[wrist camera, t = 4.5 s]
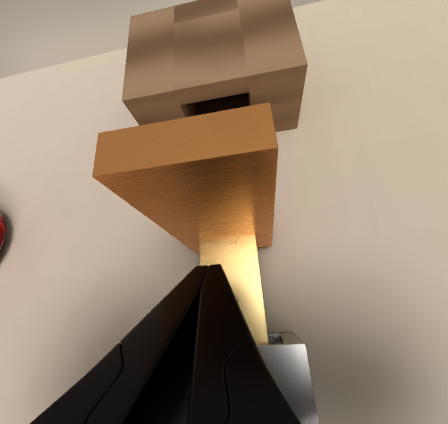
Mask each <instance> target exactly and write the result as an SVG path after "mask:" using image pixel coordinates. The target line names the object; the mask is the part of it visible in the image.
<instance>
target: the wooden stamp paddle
mask: <svg viewBox="0 0 448 424" xmlns="http://www.w3.org/2000/svg"><path fill="white" fill-rule="evenodd" d="M277 157H278V144H277V138H276V133H275V127H274V122H273V116H272V111H271V105H270V102H268V103H263V104H257V105H252V106H246V107H241V108H235V109H230V110H224V111H219V112H213V113H208V114H202V115H196V116H191V117H185V118H180V119H174V120H169V121H163V122H158V123H152V124H147V125H141V126H135V127H130V128H124V129H119V130H113V131H108V132H102V133H98V140H97V147H96V154H95V161H94V168H93V175H92V177H93V178H95V179H96V180H97V181H99V182H100V183H102V184H103V185H104V186H106V187H107V188H108V189H110V190H111V191H112V192H114V193H115V194H117V195H118V196H119V197H121V198H122V199H123V200H125V201H126V202H127V203H129V204H130V205H132V206H133V207H134V208H136V209H137V210H138V211H140V212H141V213H142V214H144V215H145V216H147V217H148V218H149V219H151V220H152V221H153V222H155V223H156V224H157V225H159V226H160V227H162V228H163V229H164V230H166V231H167V232H168V233H170V234H171V235H172V236H174V237H175V238H177V239H178V240H179V241H181V242H182V243H183V244H185V245H186V246H187V247H189V248H190V249H192V250H193V251H194V252H196V253H197V254H200V266H203V265H207V266H209V265H213V264H221V265H222V267H223V270H224V272H225V274H226V277H227V279H228V281H229V283H230V286H231V288H232V290H233V292H234V295H235V297H236V299H237V302H238V304H239V306H240V308H241V311H242V313H243V315H244V318H245V320H246V322H247V324H248V327H249V329H250V331H251V334H252V336H253V338H254V340H255V342H256V345H262V344H269V339H268V331H267V322H266V314H265V306H264V298H263V290H262V282H261V274H260V266H259V257H258V249H257V248H258V247H267V246H272V233H273V218H274V203H275V187H276V172H277Z"/></svg>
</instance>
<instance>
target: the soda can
mask: <svg viewBox="0 0 448 424" xmlns="http://www.w3.org/2000/svg"><path fill="white" fill-rule="evenodd" d="M4 237H5V222H4V218H3V216H2V214H1V213H0V251H1V249H2V246H3V243H4Z"/></svg>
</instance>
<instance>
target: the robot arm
mask: <svg viewBox="0 0 448 424" xmlns="http://www.w3.org/2000/svg"><path fill="white" fill-rule="evenodd" d="M120 343H121V344H120ZM120 343H118V344H117V345H116V346H115V347H114V348H113V349H112V350H111V351H110V352H109V353H108V354H107V355H106V356H105V357H104V358H103V359H102V360H101V361H100V362H99V363H98V364H96V365H95V366H94V367H93V368H92V369H91V370H90V371H89V372H88V373H87V374H86V375H85V376H84V377H83V378H81V379H80V380H79V381H78V382H77V383H76V384H75V385H74V386H72V387H71V388H70V389H69V390H68V391H67V392H66V393H65V394H63V395H62V396H61V397H60V398H59V399H58V400H57V401H55V402H54V403H53V404H52V405H51V406H50V407H48V408H47V409H46V410H45V411H44V412H43V413H42V414H40V415H39V416H38V417H37V418H36V419H35V420H33V421H32V422H31V423H30V424H302V423H301V422H300V420H299V418H298V417H297V415H296V413H295V412H294V410H293V409H292V407H291V405H290V404H289V402H288V401H287V399H286V397H285V396H284V394H283V393H282V391H281V389H280V388H279V386H278V384H277V383H276V381H275V379H274V378H273V376H272V374H271V372H270V371H269V369H268V367H267V365H266V363H265V361H264V359H263V357H262V355H261V353H260V351H259V349H258V347H257V345H256V342H255V340H254V338H253V336H252V334H251V331H250V329H249V327H248V324H247V322H246V320H245V318H244V315H243V313H242V311H241V308H240V306H239V304H238V302H237V299H236V297H235V295H234V292H233V290H232V288H231V286H230V283H229V281H228V279H227V277H226V274H225V272H224V270H223V267H222V265H221V264H213V265H209V266H207V265H203V266H196V267H195V268H194V269H193V270H192V271H191V272H190V273H189V274H188V275H187V276H186V277H185V278H184V279H183V280H182V281H181V282H180V283H179V284H178V285H177V286H176V287H175V288H174V289H173V290H172V291H171V292H170V293H169V294H168V295H167V296H166V297H165V298H164V299H163V300H162V301H161V302H160V303H159V304H158V305H157V306H155V307H154V308H153V309H152V310H151V311H150V312H149V313H148V314H147V315H146V316H145V317H144V318H143V319H142V320H141V321H140V322H139V323H138V324H137V325H136V326H135V327H134V328H133V329H132V330H131V331H130V332H129V333H128V334H127V335H126V336H125V337H124V338H123V339H122V340H121V342H120Z"/></svg>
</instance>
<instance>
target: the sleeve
mask: <svg viewBox="0 0 448 424" xmlns="http://www.w3.org/2000/svg"><path fill="white" fill-rule="evenodd" d="M268 339H269V344H262V345H257V347H258V349H259V351H260V353H261V355H262V357H263V359H264V361H265V363H266V365H267V367H268V369H269V371H270V372H271V374H272V376H273V378H274V379H275V381H276V383H277V384H278V386H279V388H280V389H281V391H282V393H283V394H284V396H285V397H286V399H287V401H288V402H289V404H290V405H291V407H292V409H293V410H294V412H295V413H296V415H297V417H298V418H299V420H300V422H301V423H302V424H319V422H318V416H317V410H316V405H315V399H314V393H313V387H312V381H311V375H310V369H309V363H308V358H307V352H306V346H305V343H304V342H303V341H302V340H301V339H300V338H299V337H298V336H297V335H296V334H295V333H294V332H285V333H269V334H268Z"/></svg>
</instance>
